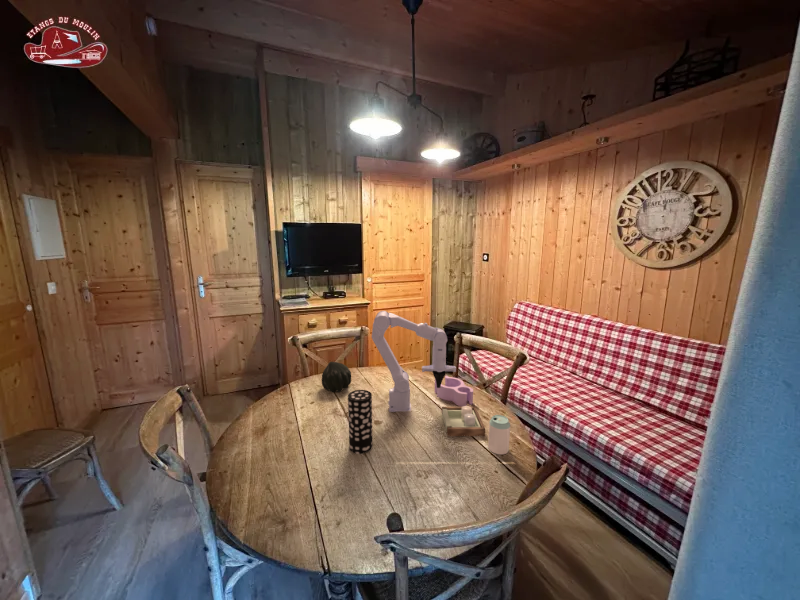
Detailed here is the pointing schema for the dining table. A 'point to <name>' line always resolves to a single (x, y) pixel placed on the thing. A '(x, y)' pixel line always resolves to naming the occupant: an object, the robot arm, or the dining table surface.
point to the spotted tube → (360, 421)
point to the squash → (336, 377)
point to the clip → (455, 391)
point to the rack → (466, 430)
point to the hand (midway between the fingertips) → (438, 386)
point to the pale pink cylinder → (465, 411)
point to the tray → (455, 419)
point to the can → (499, 434)
